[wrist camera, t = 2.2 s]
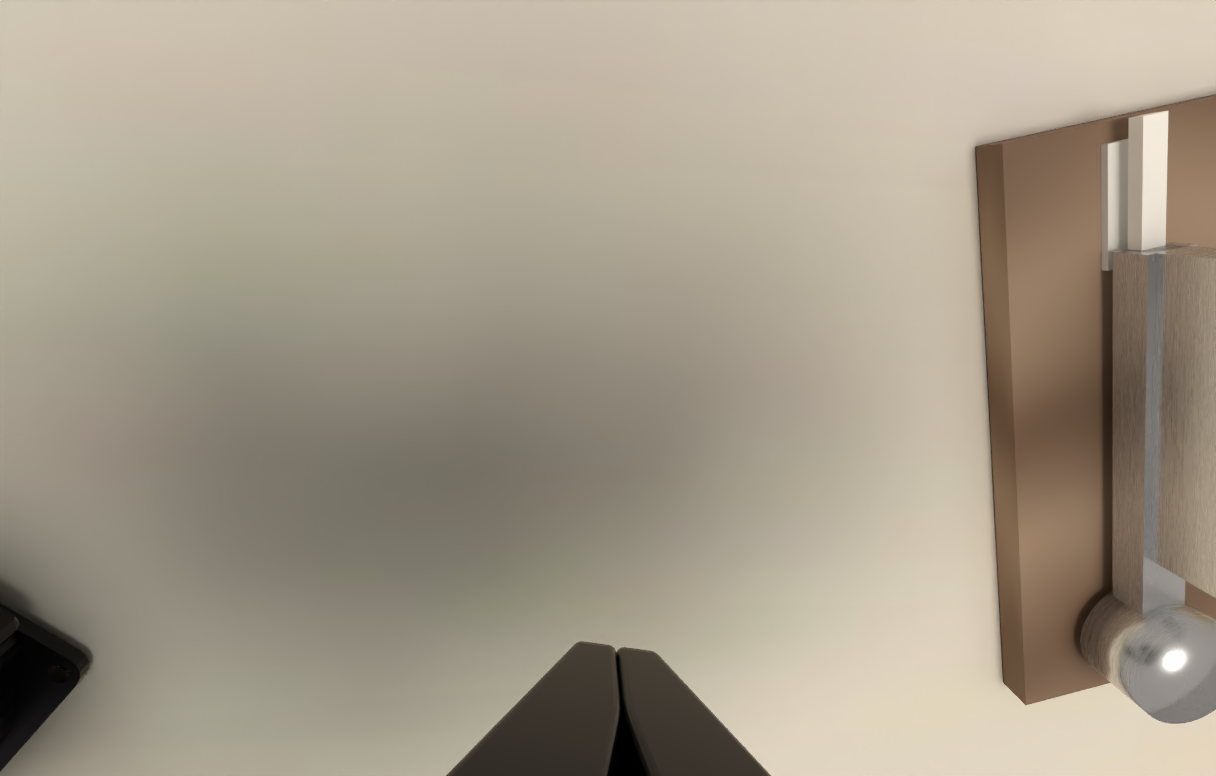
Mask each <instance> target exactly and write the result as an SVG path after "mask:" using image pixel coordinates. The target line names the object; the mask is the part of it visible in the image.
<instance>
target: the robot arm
mask: <svg viewBox="0 0 1216 776" xmlns="http://www.w3.org/2000/svg"><path fill="white" fill-rule="evenodd" d="M58 665H60V666H63V667H65V668H66V669H67V670H68V671H69V672H68V673H67V672H64V671H62V670H61V669H60V668H59V667H58ZM88 670H89V660H88V658H87V656H86V655H85V654H84V653H82V652H81V651H80V650H79V649H77V648H75V647H73V646H72V645H70V644H68V643H67V642H65V641H63V640H62V639H60V638H58V637H57V636H55V635H53V634H51V633H50V632H48V631H46V630H45V629H43V628H41V627H40V626H38V625H36V624H35V623H33V622H31V621H29V620H28V619H26V618H24V617H23V616H21V615H19V614H18V613H16V612H14V611H13V610H11V609H9V608H7V607H6V606H4V605H2V604H1V603H0V771H1V770H2V769H3V768H4V767H5V765H6V764H7V763H8V762H9V761H10V760H11V759H12V758H13V756H14V755H15V754H16V753H17V752H18V751H19V750H20V749H21V747H22V746H23V745H24V744H25V743H26V742H27V741H28V739H29V738H30V737H31V736H32V735H33V734H34V733H35V732H36V730H37V729H38V728H39V727H40V726H41V725H42V724H43V723H44V721H45V720H46V719H47V718H48V717H49V716H50V715H51V714H52V712H53V711H54V710H55V709H56V708H57V707H58V706H59V704H60V703H61V702H62V701H63V700H64V699H65V698H66V697H67V695H68V694H69V693H70V692H71V691H72V690H73V689H74V688H75V686H76V685H77V684H78V683H79V682H80V681H81V680H82V678H83V677H84V676H85V675H86V674H87V672H88ZM446 776H771V775H770V774H769V773H768V772H767V771H766V770H765V769H764V768H763V767H762V766H761V764H760V763H759V762H758V761H757V760H756V759H755V758H754V757H753V756H752V755H751V754H750V753H749V752H748V751H747V749H746V748H745V747H744V746H743V745H742V744H741V743H740V742H739V741H738V740H737V739H736V738H735V737H734V736H733V734H732V733H731V732H730V731H729V730H728V729H727V728H726V727H725V726H724V725H723V724H722V723H721V722H720V721H719V719H718V718H717V717H716V716H715V715H714V714H713V713H712V712H711V711H710V710H709V709H708V708H707V707H706V706H705V704H704V703H703V702H702V701H701V700H700V699H699V698H698V697H697V696H696V695H695V694H694V693H693V692H692V690H691V689H690V688H689V687H688V686H687V685H686V684H685V683H684V682H683V681H682V680H681V679H680V678H679V677H678V675H677V674H676V673H675V672H674V671H673V670H672V669H671V668H670V667H669V666H668V665H667V664H666V663H665V662H664V660H663V659H662V658H661V657H660V656H659V655H658V654H656V653H655V652H653V651H648V650H640V649H633V648H626V647H623V648H620V649H618V651H617V652H616V651H615V649H614V648H613V647H612V646H610V645H604V644H597V643H590V642H583V641H581V642H578V643H576V644H575V645H574V646H573V647H572V648H571V649H570V650H569V651H568V652H567V653H566V654H565V655H564V656H563V657H562V658H561V659H560V660H559V661H558V662H557V663H556V664H555V665H554V666H553V667H552V668H551V669H550V670H549V671H548V672H547V673H546V674H545V675H544V676H543V677H542V678H541V679H540V680H539V681H538V682H537V684H536V685H535V686H534V687H533V688H532V689H531V690H530V691H529V692H528V693H527V694H526V695H525V696H524V697H523V698H522V699H521V700H520V701H519V702H518V703H517V704H516V705H515V706H514V707H513V708H512V709H511V710H510V711H509V712H508V713H507V714H506V715H505V716H504V717H503V718H502V719H501V720H500V721H499V722H498V723H497V724H496V725H495V726H494V727H493V728H492V729H491V730H490V731H489V732H488V733H487V735H486V736H485V737H484V738H483V739H482V740H481V741H480V742H479V743H478V744H477V745H476V746H475V747H474V748H473V749H472V750H471V751H470V752H469V753H468V754H467V755H466V756H465V757H464V758H463V759H462V760H461V761H460V762H459V763H458V764H457V765H456V766H455V767H454V768H453V769H452V770H451V771H450V772H449V773H448V774H447V775H446Z"/></svg>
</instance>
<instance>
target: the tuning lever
mask: <svg viewBox="0 0 1216 776" xmlns="http://www.w3.org/2000/svg"><path fill="white" fill-rule="evenodd" d="M1167 156H1168V111H1162V112H1154V113H1149V114H1145V115H1140V116H1135V117H1131V118H1129V130H1128V248H1126V249H1122V250H1118V251H1113V538H1112V592H1110V593H1109V594H1108V595H1106V596H1105V597H1104V598H1103V599H1101V600H1100V601H1099V602H1098V603H1097V604H1096V605H1095V606H1094V608H1093V609H1092V610H1091V612H1090V613H1089V615H1088V616H1087V618H1086V620H1085V622H1084V625H1083V628H1082V631H1081V636H1080V646H1081V651H1082V654H1083V657H1084V658H1085V660H1086V662H1087V663H1088V664H1089V665H1090V666H1091V667H1092V668H1094V669H1095V670H1096V671H1097V672H1098V673H1100V674H1101V675H1102V676H1103V677H1104V678H1106V679H1107V680H1108V681H1109V682H1110V683H1112V684H1113V685H1114V686H1115V687H1116V688H1118V689H1119V690H1120V691H1121V692H1123V693H1124V694H1125V695H1126V696H1127V697H1129V698H1130V699H1131V700H1132V701H1133V702H1135V703H1136V704H1137V705H1138V706H1139V707H1141V708H1142V709H1143V710H1144V711H1145V712H1147V713H1148V714H1149V715H1150V716H1152V717H1153V718H1155V719H1157V720H1159V721H1162V722H1165V723H1172V724H1179V723H1186V722H1191V721H1194V720H1197V719H1199V718H1202V717H1204V716H1206V715H1208V714H1209V713H1211V712H1213V711H1214V710H1216V620H1215V619H1214V618H1212V617H1210V616H1209V615H1207V614H1205V613H1204V612H1202V611H1200V610H1199V609H1197V608H1196V607H1194V606H1192V605H1191V604H1189V603H1187V602H1186V601H1185V581H1187V582H1189V583H1191V584H1192V585H1194V586H1196V587H1197V588H1199V589H1201V590H1203V591H1204V592H1206V593H1208V594H1209V595H1211V596H1213V597H1215V598H1216V248H1212V247H1199V246H1197V244H1192V243H1179V242H1166V202H1167Z"/></svg>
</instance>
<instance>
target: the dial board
mask: <svg viewBox="0 0 1216 776" xmlns="http://www.w3.org/2000/svg"><path fill="white" fill-rule="evenodd" d="M1162 111H1168V156H1167V202H1166V242H1179V243H1192V244H1197V246H1199V247H1212V248H1216V94H1215V95H1211V96H1206V97H1202V98H1197V99H1192V100H1188V101H1183V102H1179V103H1174V104H1169V105H1165V106H1160V107H1156V108H1151V109H1146V110H1142V111H1137V112H1133V113H1128V114H1123V115H1119V116H1114V117H1109V118H1105V119H1100V120H1096V121H1091V122H1086V123H1082V124H1077V125H1073V126H1068V127H1063V128H1059V129H1054V130H1050V131H1045V132H1040V133H1036V134H1031V135H1027V136H1022V137H1017V138H1013V139H1008V140H1004V141H999V142H994V143H990V144H985V145H981V146H976V158H977V178H978V197H979V216H980V235H981V255H982V274H983V293H984V312H985V332H986V351H987V370H988V389H989V409H990V428H991V447H992V466H993V486H994V505H995V524H996V543H997V563H998V582H999V601H1000V620H1001V640H1002V659H1003V678H1004V684H1005V685H1006V686H1007V687H1008V688H1009V689H1010V690H1011V691H1012V692H1013V693H1014V694H1015V695H1016V696H1017V697H1018V698H1019V699H1020V700H1021V701H1022V702H1023V703H1024V704H1025V705H1028V704H1032V703H1036V702H1040V701H1043V700H1047V699H1051V698H1055V697H1058V696H1062V695H1066V694H1070V693H1073V692H1077V691H1081V690H1085V689H1088V688H1092V687H1096V686H1100V685H1103V684H1107V683H1110V682H1109V681H1108V680H1107V679H1106V678H1104V677H1103V676H1102V675H1101V674H1100V673H1098V672H1097V671H1096V670H1095V669H1094V668H1092V667H1091V666H1090V665H1089V664H1088V663H1087V662H1086V660H1085V658H1084V657H1083V654H1082V651H1081V646H1080V636H1081V631H1082V628H1083V625H1084V622H1085V620H1086V618H1087V616H1088V615H1089V613H1090V612H1091V610H1092V609H1093V608H1094V606H1095V605H1096V604H1097V603H1098V602H1099V601H1100V600H1101V599H1103V598H1104V597H1105V596H1106V595H1108V594H1109V593H1110V592H1112V538H1113V251H1118V250H1122V249H1126V248H1128V130H1129V118H1131V117H1135V116H1140V115H1145V114H1149V113H1154V112H1162ZM1185 601H1186V602H1187V603H1189V604H1191V605H1192V606H1194V607H1196V608H1197V609H1199V610H1200V611H1202V612H1204V613H1205V614H1207V615H1209V616H1210V617H1212V618H1214V619H1215V620H1216V598H1215V597H1213V596H1211V595H1209V594H1208V593H1206V592H1204V591H1203V590H1201V589H1199V588H1197V587H1196V586H1194V585H1192V584H1191V583H1189V582H1187V581H1185Z"/></svg>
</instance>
